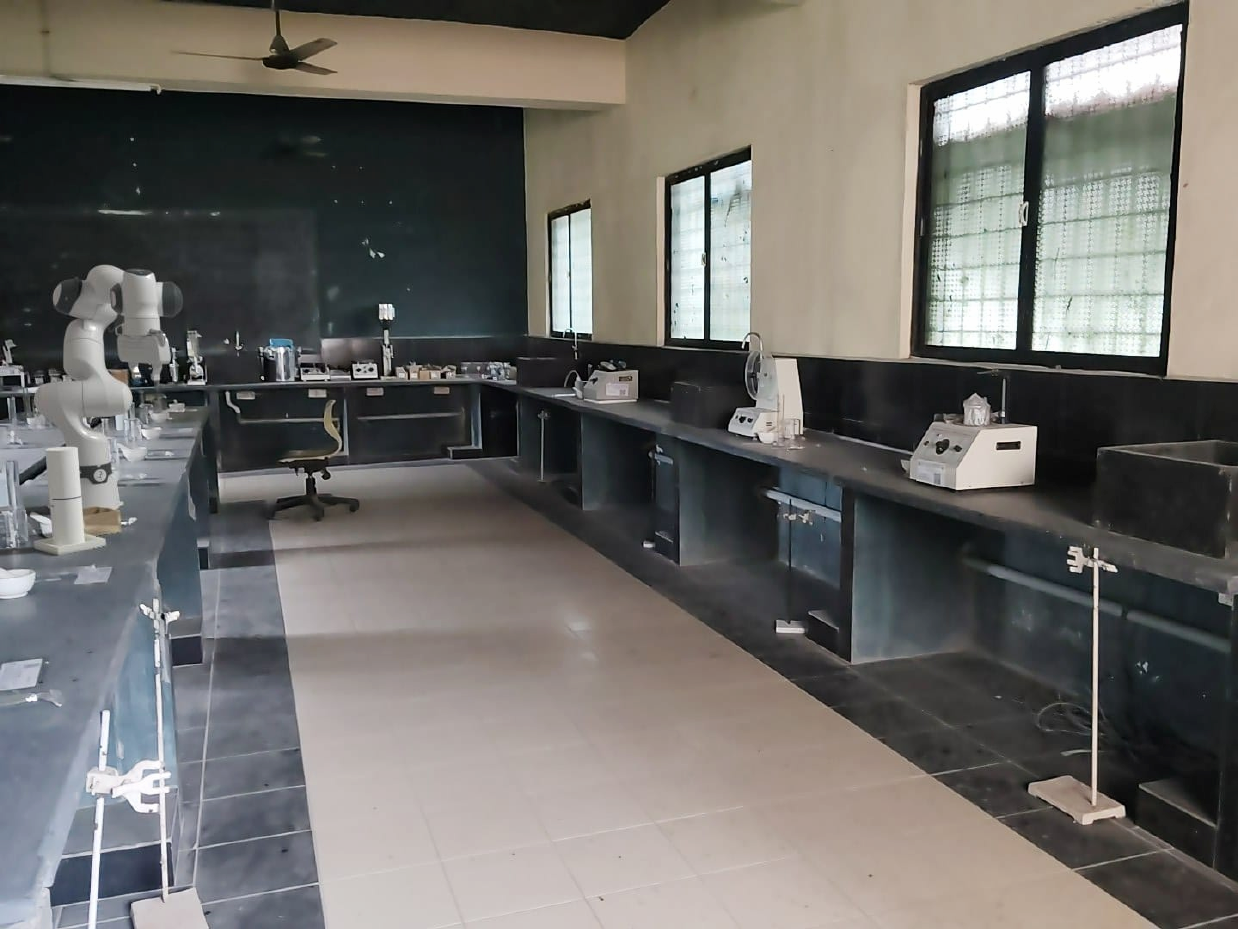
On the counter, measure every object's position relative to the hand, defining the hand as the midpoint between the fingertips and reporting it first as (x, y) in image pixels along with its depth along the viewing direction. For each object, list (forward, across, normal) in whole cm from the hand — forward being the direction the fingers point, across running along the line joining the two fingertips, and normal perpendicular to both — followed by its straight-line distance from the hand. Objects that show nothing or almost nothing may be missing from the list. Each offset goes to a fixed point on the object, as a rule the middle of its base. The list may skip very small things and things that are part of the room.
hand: (146, 379), depth 281 cm
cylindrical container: (+41, -8, +28) cm, 50 cm away
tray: (+41, -8, +28) cm, 50 cm away
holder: (+41, +4, +16) cm, 44 cm away
